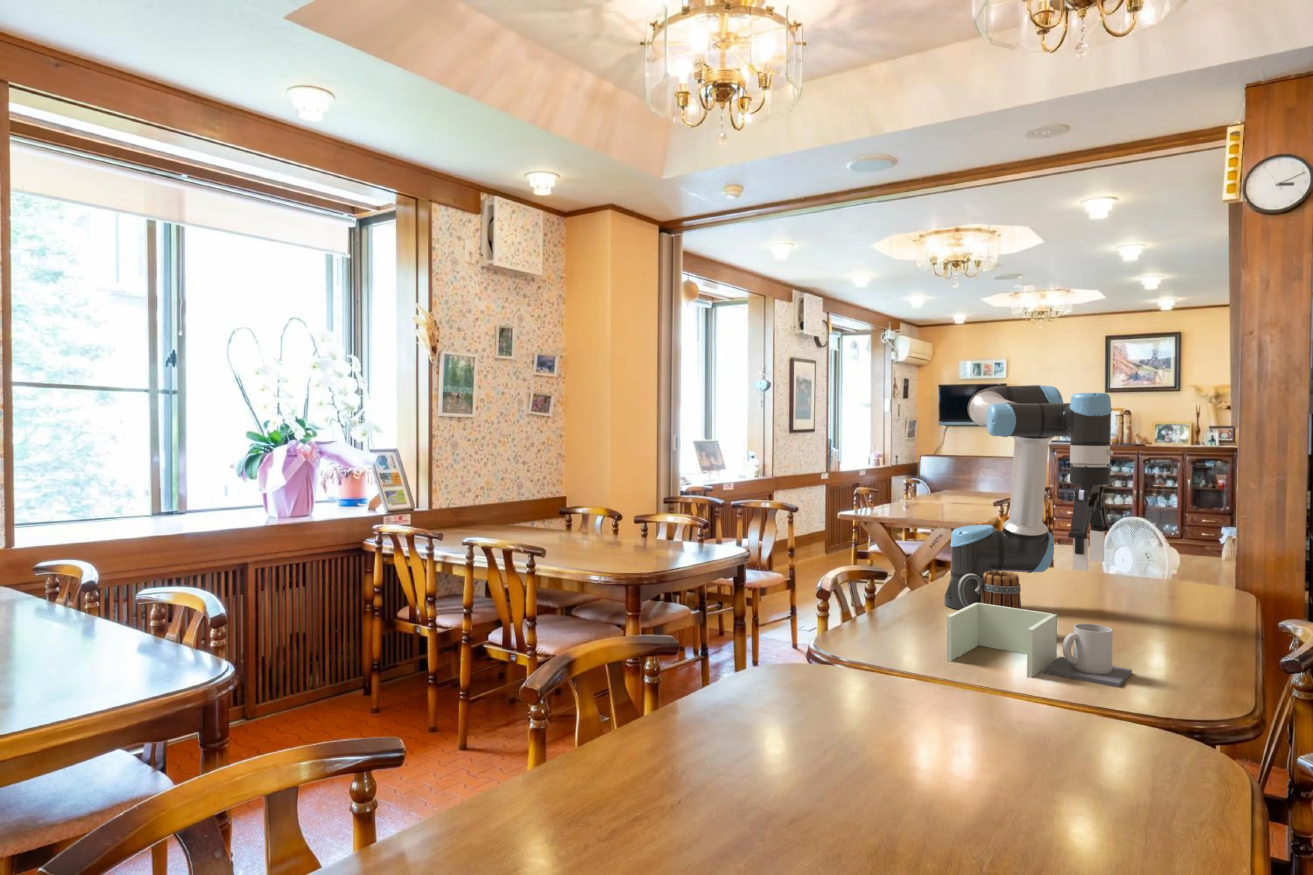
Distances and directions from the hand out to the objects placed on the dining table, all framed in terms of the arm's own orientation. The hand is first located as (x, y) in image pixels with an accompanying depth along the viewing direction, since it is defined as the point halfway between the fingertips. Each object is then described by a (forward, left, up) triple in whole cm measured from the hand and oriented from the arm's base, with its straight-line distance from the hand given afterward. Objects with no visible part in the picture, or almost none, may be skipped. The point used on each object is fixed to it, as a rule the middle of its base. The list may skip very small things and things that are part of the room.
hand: (1088, 565), depth 168 cm
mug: (-27, +19, -23) cm, 40 cm away
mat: (0, -1, -23) cm, 23 cm away
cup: (0, -1, -22) cm, 22 cm away
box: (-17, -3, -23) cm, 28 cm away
